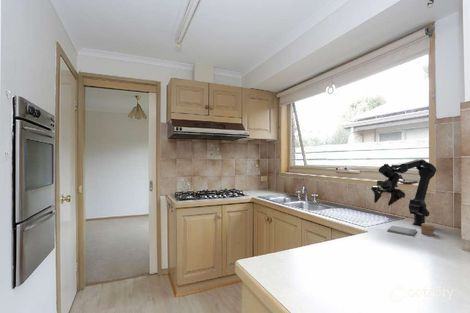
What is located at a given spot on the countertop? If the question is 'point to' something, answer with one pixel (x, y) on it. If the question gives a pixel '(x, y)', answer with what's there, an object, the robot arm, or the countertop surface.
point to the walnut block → (427, 229)
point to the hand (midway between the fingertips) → (381, 203)
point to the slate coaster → (402, 230)
